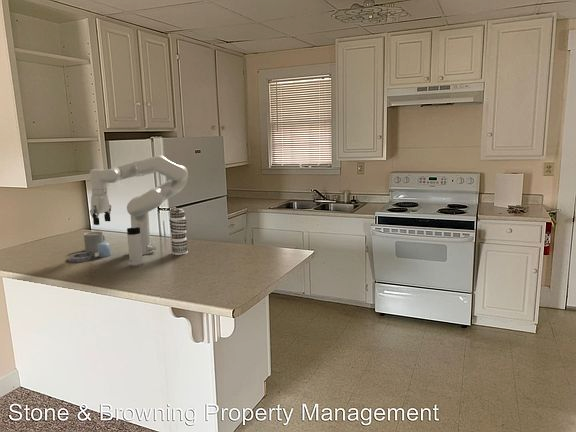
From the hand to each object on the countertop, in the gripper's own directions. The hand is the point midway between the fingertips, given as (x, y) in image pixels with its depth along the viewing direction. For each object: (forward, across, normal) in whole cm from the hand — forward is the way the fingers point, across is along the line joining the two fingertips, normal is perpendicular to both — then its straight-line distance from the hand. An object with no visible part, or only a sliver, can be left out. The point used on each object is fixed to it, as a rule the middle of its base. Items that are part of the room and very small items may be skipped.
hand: (102, 223), depth 238 cm
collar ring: (+18, +9, -8) cm, 22 cm away
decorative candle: (+18, -10, +40) cm, 45 cm away
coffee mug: (+18, -10, -12) cm, 24 cm away
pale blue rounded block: (+18, +2, +1) cm, 18 cm away
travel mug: (+18, +15, +28) cm, 37 cm away
